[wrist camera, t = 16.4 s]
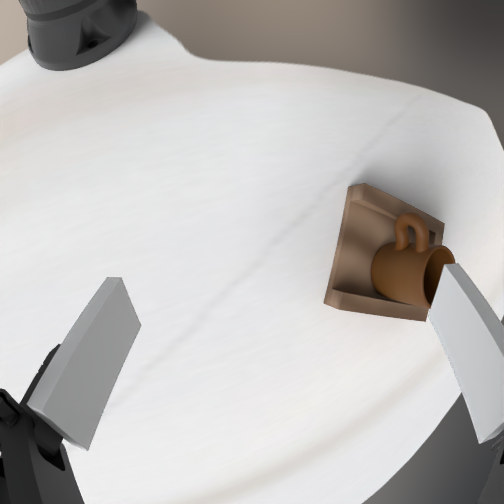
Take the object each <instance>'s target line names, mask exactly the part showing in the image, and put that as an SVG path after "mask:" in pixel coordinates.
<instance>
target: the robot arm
mask: <svg viewBox="0 0 504 504" xmlns="http://www.w3.org/2000/svg"><path fill="white" fill-rule="evenodd" d="M19 2H20V4H21V6H22V7H23V9H24V11H25V14H26V16H27V30H28V47H29V51H30V53H31V55H32V56H33V58H34V59H35V61H36V62H37V63H38V64H39V65H40V66H41V67H43V68H45V69H49V70H54V71H64V70H71V69H75V68H79V67H82V66H85V65H88V64H90V63H92V62H94V61H97V60H98V59H100V58H102V57H104V56H105V55H107V54H109V53H110V52H111V51H113V50H114V49H115V48H117V47H118V46H119V45H120V44H121V43H122V42H123V41H124V40H125V39H126V38H127V37H128V35H129V34H130V33H131V31H132V29H133V28H134V25H135V23H136V19H137V3H136V0H19ZM428 317H429V319H430V321H431V323H432V325H433V327H434V329H435V331H436V333H437V335H438V337H439V339H440V341H441V344H442V346H443V348H444V350H445V352H446V355H447V357H448V359H449V361H450V364H451V366H452V369H453V371H454V373H455V376H456V378H457V381H458V383H459V386H460V388H461V391H462V394H463V396H464V399H465V402H466V404H467V407H468V410H469V413H470V416H471V419H472V422H473V425H474V428H475V431H476V434H477V438H478V441H479V444H480V443H482V442H485V441H487V440H489V439H492V438H494V437H495V436H496V435H498V434H499V433H500V432H501V431H502V430H503V429H504V326H503V325H502V323H501V322H500V320H499V319H498V317H497V316H496V314H495V313H494V311H493V310H492V308H491V307H490V305H489V304H488V302H487V301H486V299H485V298H484V297H483V295H482V294H481V292H480V291H479V290H478V288H477V287H476V285H475V284H474V283H473V281H472V280H471V279H470V277H469V276H468V275H467V274H466V272H465V271H464V270H463V268H462V267H461V266H460V265H459V263H457V264H444V268H443V271H442V275H441V278H440V281H439V285H438V288H437V291H436V294H435V297H434V300H433V303H432V306H431V309H430V312H429V314H428ZM140 327H141V324H140V321H139V319H138V317H137V314H136V312H135V310H134V307H133V305H132V303H131V300H130V298H129V295H128V293H127V290H126V288H125V285H124V283H123V280H122V277H107V278H106V280H105V281H104V282H103V284H102V285H101V286H100V288H99V289H98V291H97V292H96V293H95V295H94V296H93V298H92V299H91V300H90V302H89V303H88V305H87V306H86V308H85V309H84V310H83V312H82V313H81V315H80V316H79V318H78V319H77V321H76V322H75V324H74V325H73V327H72V328H71V330H70V331H69V333H68V334H67V336H66V338H65V339H64V341H63V342H62V344H58V345H57V346H56V347H55V348H54V349H53V350H52V351H51V352H49V354H48V356H47V357H46V359H45V360H44V362H43V365H41V367H40V369H39V370H38V373H37V374H36V376H35V377H34V379H33V381H32V382H31V384H30V386H29V388H28V390H27V391H26V393H25V395H24V397H23V399H22V400H21V402H20V404H18V403H17V402H16V401H15V400H14V399H13V398H12V397H11V395H10V394H9V393H8V392H7V391H6V390H4V389H0V452H1V456H0V504H85V503H84V501H83V499H82V496H81V493H80V491H79V488H78V486H77V483H76V480H75V477H74V474H73V471H72V468H71V465H70V462H69V459H68V455H67V452H66V449H65V447H64V445H63V443H61V442H62V440H63V438H64V439H65V440H67V441H68V442H69V443H70V444H71V445H73V446H76V447H78V448H81V449H84V450H86V451H88V450H89V447H90V444H91V442H92V439H93V436H94V434H95V431H96V428H97V426H98V423H99V421H100V418H101V416H102V413H103V411H104V408H105V406H106V404H107V401H108V399H109V396H110V394H111V392H112V389H113V387H114V385H115V382H116V380H117V378H118V375H119V373H120V371H121V369H122V366H123V364H124V362H125V360H126V357H127V355H128V353H129V351H130V349H131V347H132V344H133V342H134V340H135V338H136V336H137V334H138V332H139V330H140ZM498 445H500V446H499V448H497V450H496V452H497V455H496V458H495V461H494V463H493V466H492V469H491V472H490V474H489V477H488V479H487V481H486V484H485V486H484V489H483V491H482V493H481V495H480V498H479V500H478V502H477V504H504V435H503V436H502V437H501V438H500V439H499V440H498V441H496V443H494V444H493V445H492V447H491V450H493V449H495V448H496V447H497V446H498Z"/></svg>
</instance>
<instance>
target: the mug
mask: <svg viewBox="0 0 504 504" xmlns="http://www.w3.org/2000/svg"><path fill="white" fill-rule="evenodd" d="M409 225H411V226H412V227H413V228H414V229H415V231H416V243H410V237H409V233H408V226H409ZM394 231H395V236H396V242H392V243H387V244H385V245H383V246H382V247H381V248H380V249H379V250H378V251H377V253H376V254H375V256H374V258H373V261H372V264H371V281H372V284H373V286H374V288H375V290H376V291H377V292H378V293H379V294H380V295H382V296H384V297H386V298H389V299H393V300H396V301H399V302H403V303H406V304H410V305H414V306H417V307H422V308H428V309H431V306H432V303H433V300H434V297H435V294H436V291H437V288H438V285H439V281H440V278H441V275H442V271H443V268H444V264H455V259H454V256H453V254H452V252H451V251H450V250H449V249H448V248H447V247H445V246H442V245H436V244H429V229H428V226H427V224H426V222H425V221H424V219H423V218H422V217H421V216H420V215H419V214H417V213H415V212H410V211H407V212H404V213H402V214H400V215H399V216H398V218H397V219H396V221H395V227H394Z"/></svg>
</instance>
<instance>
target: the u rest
mask: <svg viewBox="0 0 504 504" xmlns="http://www.w3.org/2000/svg"><path fill="white" fill-rule="evenodd" d="M407 211H410V212H415V213H417V214H419V215H420V216H421V217H422V218H423V219H424V221H425V222H426V224H427V226H428V229H429V244H436V245H442V239H443V232H444V224H445V223H443V222H441V221H439V220H437V219H436V218H434V217H432V216H430V215H428V214H426V213H424V212H423V211H421V210H419V209H417V208H415V207H413V206H411V205H409V204H407V203H405V202H403V201H401V200H399V199H397V198H395V197H393V196H391V195H389V194H387V193H385V192H383V191H381V190H378V189H376V188H374V187H372V186H370V185H368V184H365V183H363V184H359V185H355V186H350V187H348V191H347V197H346V202H345V208H344V213H343V218H342V224H341V229H340V234H339V238H338V243H337V248H336V252H335V257H334V261H333V266H332V270H331V274H330V279H329V283H328V287H327V291H326V295H325V299H324V304H327V305H329V306H331V307H334V308H336V309H339V310H345V311H352V312H358V313H365V314H372V315H379V316H386V317H393V318H401V319H408V320H416V321H424V322H426V318H427V314H428V310H429V309H428V308H422V307H417V306H414V305H410V304H406V303H403V302H399V301H396V300H393V299H389V298H386V297H384V296H382V295H380V294H379V293H378V292H377V291H376V290H375V288H374V286H373V284H372V281H371V264H372V261H373V258H374V256H375V254H376V253H377V251H378V250H379V249H380V248H381V247H382V246H383V245H385V244H387V243H392V242H396V236H395V231H394V227H395V221H396V219H397V218H398V216H399V215H400V214H402V213H404V212H407ZM408 233H409V237H410V243H416V231H415V229H414V228H413V227H412V226H411V225H409V226H408Z"/></svg>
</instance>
